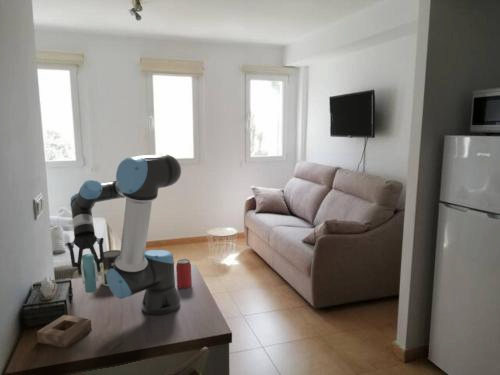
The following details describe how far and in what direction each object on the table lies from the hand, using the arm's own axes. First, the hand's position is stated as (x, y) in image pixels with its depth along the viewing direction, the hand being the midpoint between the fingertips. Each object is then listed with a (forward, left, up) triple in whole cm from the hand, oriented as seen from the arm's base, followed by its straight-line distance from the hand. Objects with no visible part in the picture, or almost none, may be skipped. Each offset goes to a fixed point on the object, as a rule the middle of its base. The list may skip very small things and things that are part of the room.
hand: (90, 280), depth 138 cm
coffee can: (+17, -33, -16) cm, 40 cm away
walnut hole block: (+3, +11, -16) cm, 20 cm away
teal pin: (+3, -3, -5) cm, 7 cm away
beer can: (-18, -38, -16) cm, 45 cm away
